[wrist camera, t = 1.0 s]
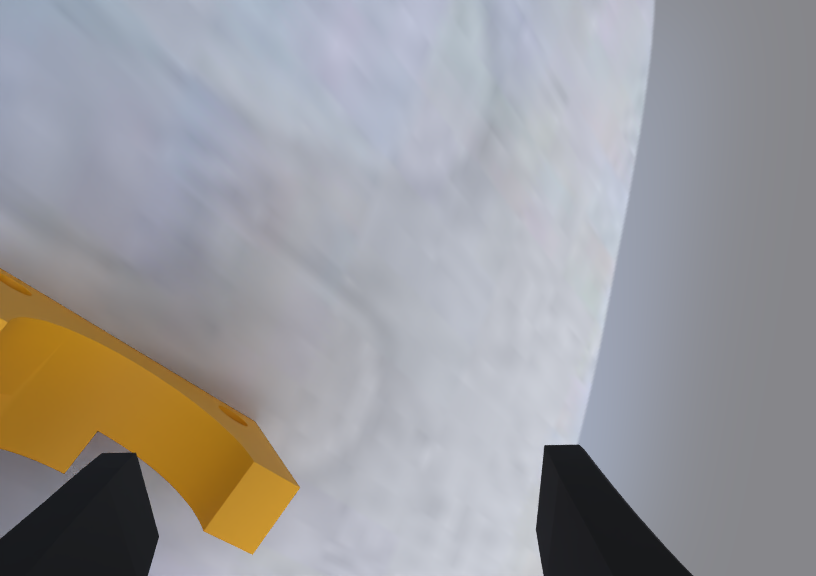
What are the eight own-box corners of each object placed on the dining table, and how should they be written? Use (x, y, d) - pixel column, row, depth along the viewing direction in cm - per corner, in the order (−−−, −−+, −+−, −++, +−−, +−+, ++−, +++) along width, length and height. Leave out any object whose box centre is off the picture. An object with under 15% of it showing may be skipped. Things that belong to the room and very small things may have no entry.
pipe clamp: (-118, 356, 21) (-195, 425, 15) (-28, 251, 21) (-69, 279, 16) (190, 508, 26) (219, 601, 20) (254, 420, 27) (300, 487, 21)
